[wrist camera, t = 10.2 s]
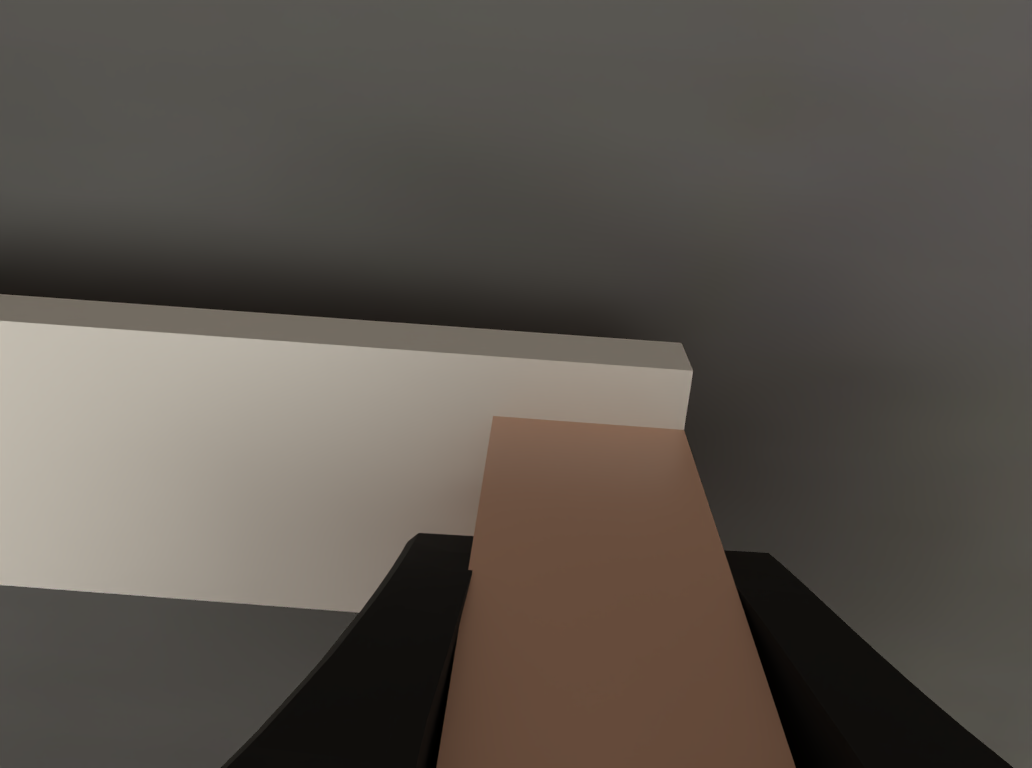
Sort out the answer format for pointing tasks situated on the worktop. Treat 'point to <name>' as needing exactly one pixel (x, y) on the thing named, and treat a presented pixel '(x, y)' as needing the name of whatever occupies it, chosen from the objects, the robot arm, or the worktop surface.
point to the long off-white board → (399, 507)
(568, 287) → the worktop surface
